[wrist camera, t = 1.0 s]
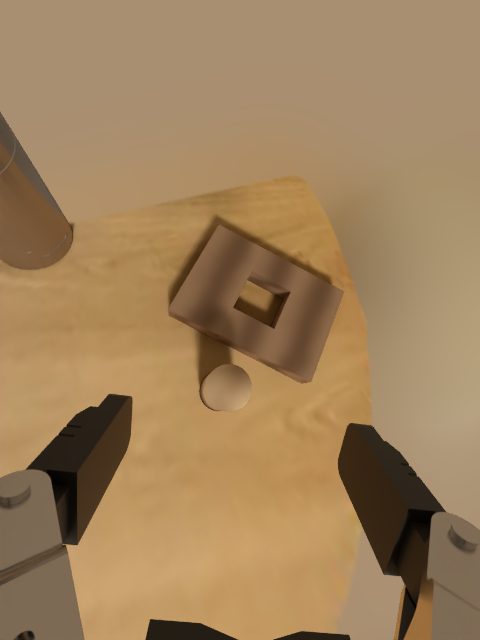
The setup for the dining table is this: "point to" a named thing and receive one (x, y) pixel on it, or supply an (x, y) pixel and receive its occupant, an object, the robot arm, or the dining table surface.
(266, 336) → the board
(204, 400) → the peg
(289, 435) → the dining table surface
